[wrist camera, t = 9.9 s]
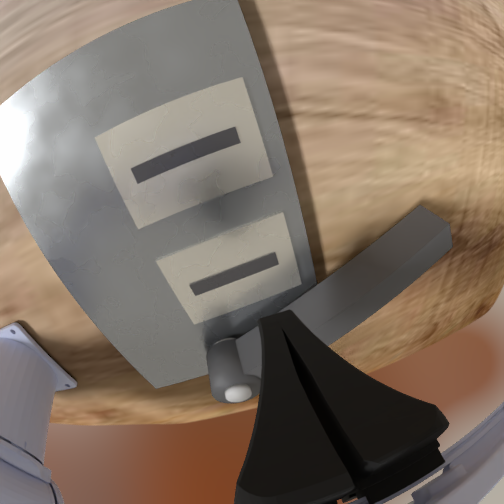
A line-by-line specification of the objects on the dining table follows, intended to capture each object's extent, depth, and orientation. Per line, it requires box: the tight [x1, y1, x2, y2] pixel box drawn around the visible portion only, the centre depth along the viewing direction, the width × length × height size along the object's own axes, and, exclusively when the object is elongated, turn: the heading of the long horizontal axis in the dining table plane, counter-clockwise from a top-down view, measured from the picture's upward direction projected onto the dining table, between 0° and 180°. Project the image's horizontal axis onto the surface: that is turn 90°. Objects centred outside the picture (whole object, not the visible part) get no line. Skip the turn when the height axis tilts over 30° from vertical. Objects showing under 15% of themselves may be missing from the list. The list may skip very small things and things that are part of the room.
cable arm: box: [206, 205, 453, 403], centre depth 16 cm, size 3×18×3 cm, turn 126°
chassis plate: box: [0, 0, 317, 389], centre depth 15 cm, size 14×22×1 cm, turn 17°
